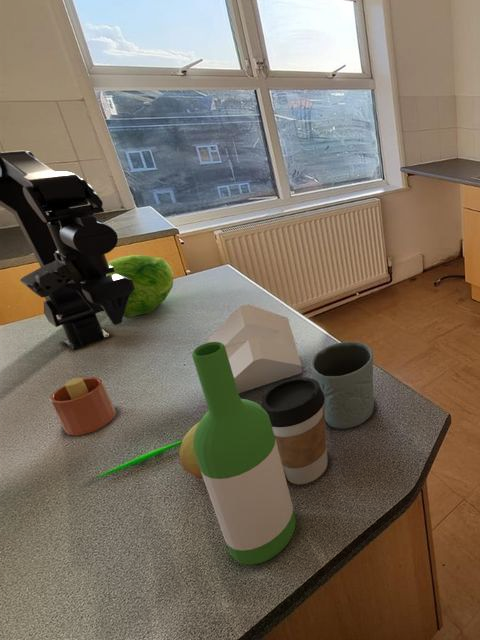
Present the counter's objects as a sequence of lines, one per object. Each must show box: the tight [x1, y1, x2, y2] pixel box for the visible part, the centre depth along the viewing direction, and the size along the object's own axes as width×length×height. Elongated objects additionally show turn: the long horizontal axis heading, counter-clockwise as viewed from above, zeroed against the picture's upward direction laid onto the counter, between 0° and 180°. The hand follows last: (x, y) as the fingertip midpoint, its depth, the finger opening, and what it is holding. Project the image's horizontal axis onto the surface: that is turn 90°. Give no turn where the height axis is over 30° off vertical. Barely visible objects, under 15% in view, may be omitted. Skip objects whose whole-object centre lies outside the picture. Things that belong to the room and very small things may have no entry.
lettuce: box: [106, 254, 175, 318], centre depth 109 cm, size 15×23×16 cm
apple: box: [178, 421, 203, 479], centre depth 66 cm, size 10×10×8 cm
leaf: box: [90, 439, 183, 481], centre depth 68 cm, size 1×14×1 cm, turn 132°
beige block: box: [208, 304, 303, 394], centre depth 84 cm, size 14×11×18 cm
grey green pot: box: [310, 341, 375, 430], centre depth 76 cm, size 10×10×12 cm
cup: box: [49, 376, 116, 436], centre depth 74 cm, size 6×6×7 cm
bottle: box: [191, 342, 297, 566], centre depth 51 cm, size 8×8×30 cm
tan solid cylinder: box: [64, 376, 89, 399], centre depth 74 cm, size 2×2×8 cm
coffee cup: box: [260, 377, 329, 485], centre depth 64 cm, size 8×8×15 cm
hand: (107, 317), depth 85 cm, fingers open, 9 cm apart
